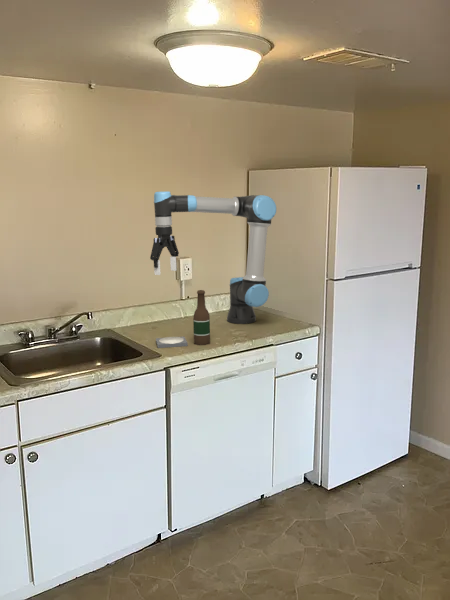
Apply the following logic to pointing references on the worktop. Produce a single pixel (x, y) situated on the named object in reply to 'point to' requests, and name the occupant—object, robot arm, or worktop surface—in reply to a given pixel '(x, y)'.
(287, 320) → the worktop surface
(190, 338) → the worktop surface
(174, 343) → the grey soap dish
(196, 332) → the beer bottle
